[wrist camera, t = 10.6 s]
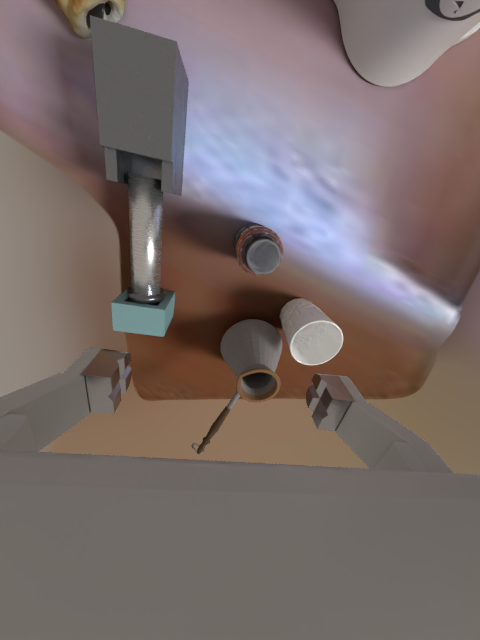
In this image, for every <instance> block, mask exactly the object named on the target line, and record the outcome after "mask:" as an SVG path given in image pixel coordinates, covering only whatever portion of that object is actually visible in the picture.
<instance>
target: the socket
mask: <svg viewBox="0 0 480 640" xmlns="http://www.w3.org/2000/svg"><path fill="white" fill-rule="evenodd" d="M174 303H175V292H172V291H166V290H164V299H163V300H162V301H160V304H159V305H158V306H154V305H147V304H140V303H133V302H132V301H131V300H129V299H128V298H127V289H126V290H125V291H124V292H123V293H122V294H120V295H119V296H118V297H117V298H116V299H115V300H114V301H112V302H111V306H112V320H113V330H114V331H122V332H129V333H137V334H145V335H153V336H161V337H164V335H165V333H166V331H167V329H168V326H169V324H170V322H171V320H172V318H173V316H174Z"/></svg>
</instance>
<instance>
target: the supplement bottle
mask: <svg viewBox="0 0 480 640" xmlns="http://www.w3.org/2000/svg"><path fill="white" fill-rule="evenodd" d="M234 248H235V253H236V257H237V260H238V262H239V264H240V266H241V267H242V268H243V269H244V270H245V271H246V272H247V273H249V274H252V275H256V276H262V275H266V274H269V273H271V272H272V271H274V270H275V269H276V268H277V267H278V265H279V264H280V262H281V260H282V256H283V245H282V242H281V240H280V238H279V237H278V235H277V234H276V233H275V232H273V231H272V230H270V229H268V228H266V227H264V226H262V225H260V224H256V223H251V224H247V225H245V226H243V227H242V228H240V229H239V231H238V232H237V234H236V236H235V240H234Z"/></svg>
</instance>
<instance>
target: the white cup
mask: <svg viewBox="0 0 480 640" xmlns="http://www.w3.org/2000/svg"><path fill="white" fill-rule="evenodd" d="M280 321H281V324H282V329H283V332H284V335H285V338H286V341H287V343H288V346H289V349H290V352H291V354H292V356H293V358H294V359H295V360H296V361H298V362H299V363H302V364H305V365H318V364H322V363H325V362H327V361H329V360H330V359H332V358H333V357H334V356H335V355H336V354H337V353H338V352H339V350H340V348H341V346H342V343H343V334H342V331H341V329H340V328H339V327H338V326H337V325H336V324H335V323H334V322H333V321H332V320H331V319H330V318H329V317H328V316H327V315H326V314H325V313H323V312H322V311H321V310H320V309H319V308H318V307H316V306H315V305H314V304H313V303H312V302H311V301H309V300H306V299H304V298H298V299H293V300H291V301H289V302H287V303H286V304H285V306H284V307H283V308H282V309H281V313H280Z"/></svg>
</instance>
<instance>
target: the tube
mask: <svg viewBox="0 0 480 640" xmlns="http://www.w3.org/2000/svg"><path fill="white" fill-rule="evenodd" d="M161 181H162V180H159V179H155V178H151V177H147V176H143V175H138V174H133V173H128V192H129V226H130V260H131V286H130V287H128V288H127V298H128V299H129V300H131V301H132V302H133V303H140V304H147V305H154V306H158V305H159V304H160V301H162V300H163V299H164V290H163V289H162V288H160V279H161V247H162V215H163V192H162V191H161Z"/></svg>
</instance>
